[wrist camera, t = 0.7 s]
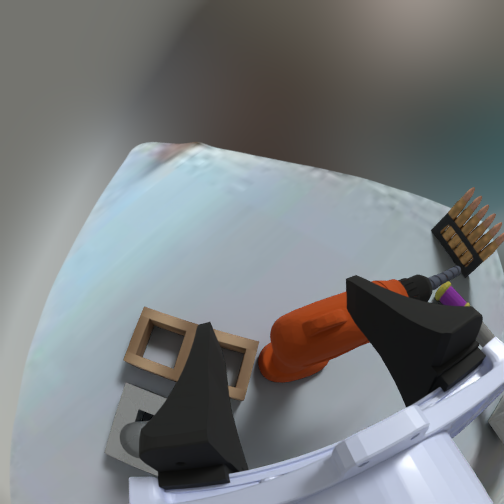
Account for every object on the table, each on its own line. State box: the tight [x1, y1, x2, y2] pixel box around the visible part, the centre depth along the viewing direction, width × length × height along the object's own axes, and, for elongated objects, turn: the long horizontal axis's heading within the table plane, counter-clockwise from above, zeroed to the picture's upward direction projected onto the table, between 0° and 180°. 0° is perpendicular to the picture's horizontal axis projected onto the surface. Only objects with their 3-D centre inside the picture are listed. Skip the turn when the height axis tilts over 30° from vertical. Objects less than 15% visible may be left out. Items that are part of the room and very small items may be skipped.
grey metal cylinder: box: [120, 421, 149, 458], centre depth 19 cm, size 3×3×8 cm
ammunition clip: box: [431, 188, 504, 278], centre depth 34 cm, size 11×2×12 cm, turn 28°
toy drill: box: [258, 266, 461, 382], centre depth 22 cm, size 5×19×15 cm, turn 107°
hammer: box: [435, 281, 504, 444], centre depth 24 cm, size 15×8×30 cm
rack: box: [124, 307, 259, 401], centre depth 26 cm, size 12×6×2 cm, turn 76°
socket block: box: [105, 383, 167, 476], centre depth 21 cm, size 8×8×2 cm
